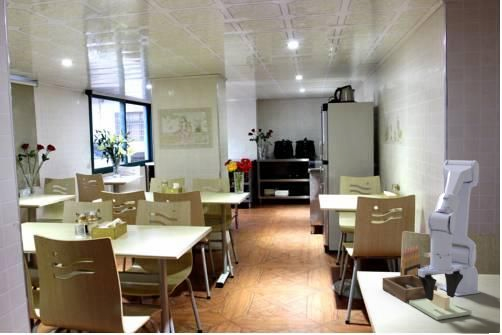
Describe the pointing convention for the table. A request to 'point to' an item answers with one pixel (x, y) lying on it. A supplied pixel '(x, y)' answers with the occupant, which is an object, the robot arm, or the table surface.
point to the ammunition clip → (410, 261)
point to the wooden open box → (405, 287)
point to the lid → (440, 307)
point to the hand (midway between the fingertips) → (439, 297)
